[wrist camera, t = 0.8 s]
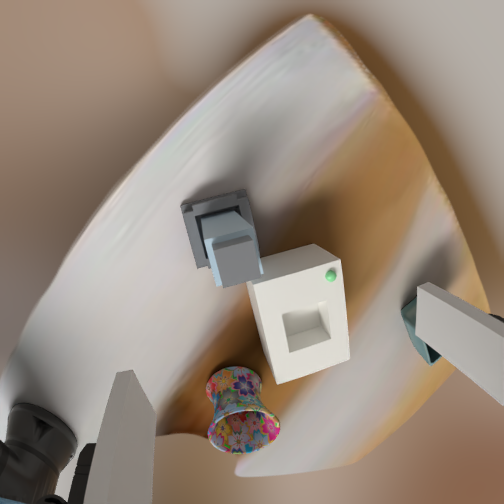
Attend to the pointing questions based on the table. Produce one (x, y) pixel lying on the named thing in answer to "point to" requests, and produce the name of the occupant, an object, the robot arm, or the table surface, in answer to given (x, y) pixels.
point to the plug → (231, 248)
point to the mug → (239, 412)
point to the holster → (209, 207)
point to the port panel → (300, 312)
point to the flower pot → (420, 345)
